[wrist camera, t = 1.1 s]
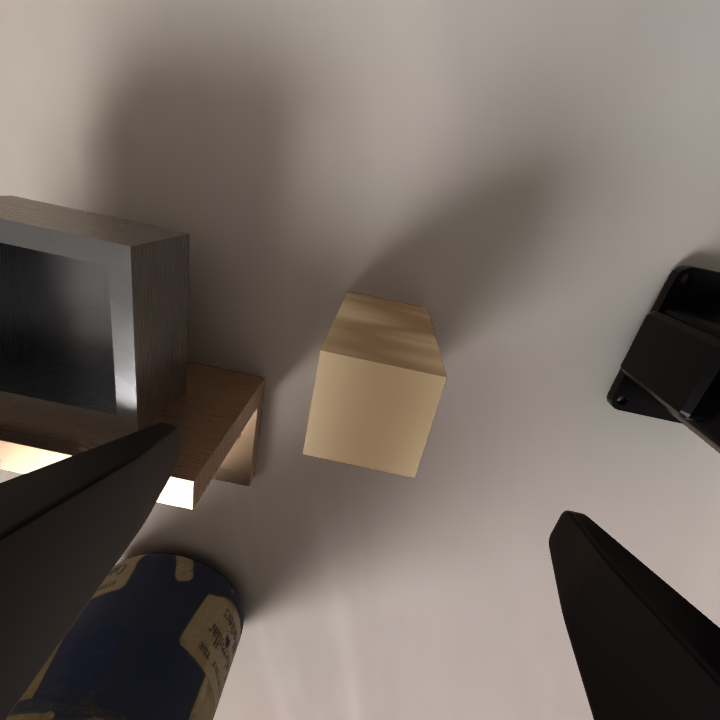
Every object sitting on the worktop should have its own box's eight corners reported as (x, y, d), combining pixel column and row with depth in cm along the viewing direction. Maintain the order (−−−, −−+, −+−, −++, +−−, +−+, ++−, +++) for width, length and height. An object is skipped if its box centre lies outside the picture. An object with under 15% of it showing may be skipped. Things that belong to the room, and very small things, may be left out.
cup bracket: (279, 241, 17) (199, 276, 10) (254, 476, 22) (189, 607, 15) (1, 181, 17) (-275, 175, 10) (41, 431, 22) (-122, 541, 15)
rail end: (427, 308, 17) (446, 377, 11) (407, 380, 19) (414, 477, 12) (347, 291, 17) (319, 350, 11) (333, 364, 19) (302, 454, 12)
